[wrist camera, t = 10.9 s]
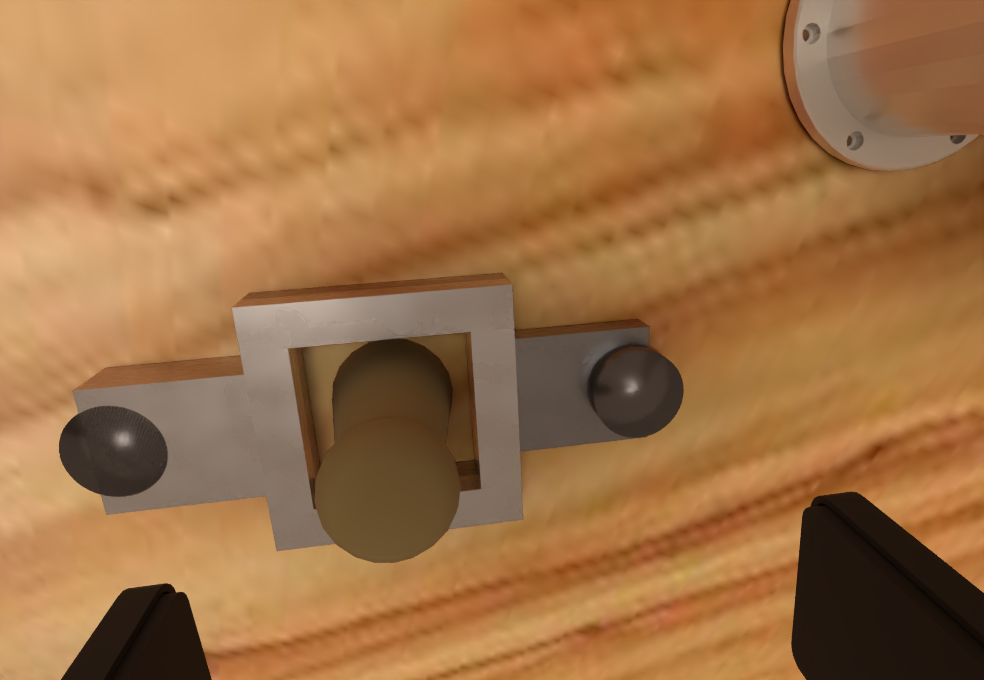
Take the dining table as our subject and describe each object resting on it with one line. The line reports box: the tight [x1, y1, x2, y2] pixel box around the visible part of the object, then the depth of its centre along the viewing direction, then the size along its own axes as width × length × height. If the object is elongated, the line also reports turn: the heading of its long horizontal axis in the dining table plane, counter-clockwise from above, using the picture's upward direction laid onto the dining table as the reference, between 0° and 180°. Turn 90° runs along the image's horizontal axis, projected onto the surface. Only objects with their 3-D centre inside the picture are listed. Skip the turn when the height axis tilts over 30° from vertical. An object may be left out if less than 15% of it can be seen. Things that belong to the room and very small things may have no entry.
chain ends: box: [59, 273, 683, 551], centre depth 30 cm, size 28×12×3 cm, turn 94°
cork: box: [315, 339, 461, 563], centre depth 26 cm, size 6×6×11 cm
